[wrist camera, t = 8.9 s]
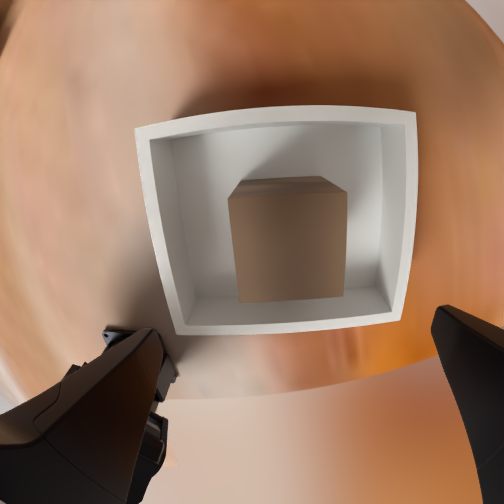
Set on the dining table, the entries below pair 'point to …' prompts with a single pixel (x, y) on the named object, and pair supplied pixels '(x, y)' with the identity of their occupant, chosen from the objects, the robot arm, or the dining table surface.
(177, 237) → the bin
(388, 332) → the dining table surface
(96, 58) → the dining table surface
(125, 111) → the dining table surface
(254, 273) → the walnut block
